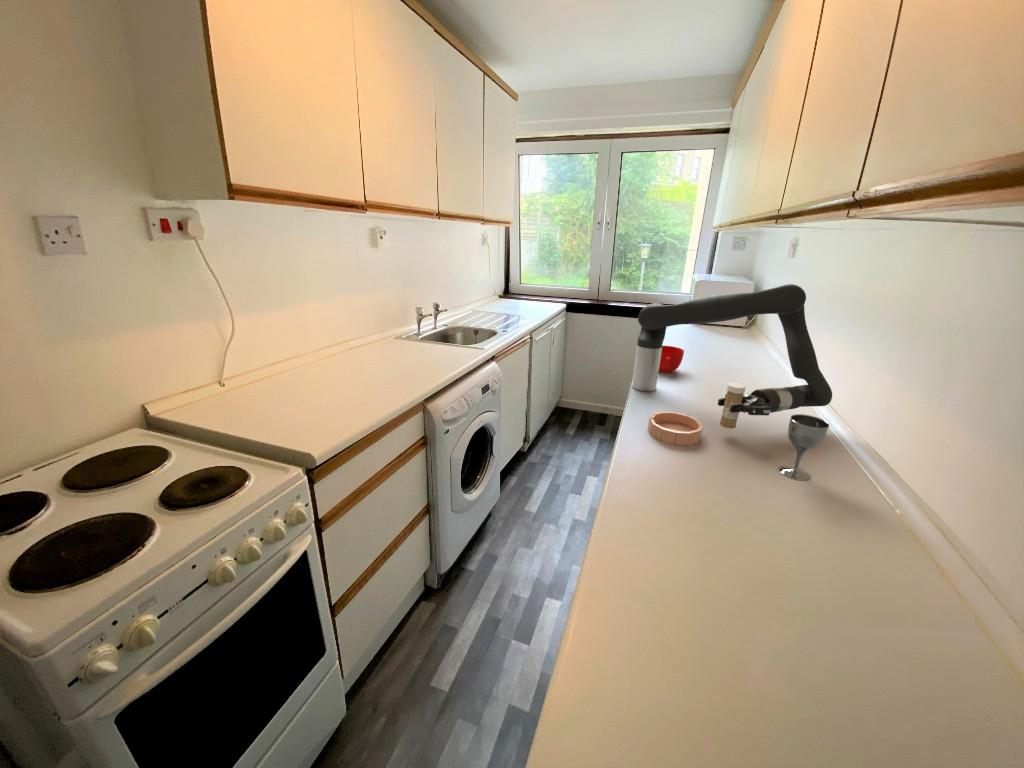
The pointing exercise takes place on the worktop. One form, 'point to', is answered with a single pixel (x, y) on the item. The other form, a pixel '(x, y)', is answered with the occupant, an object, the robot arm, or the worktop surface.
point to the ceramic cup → (670, 359)
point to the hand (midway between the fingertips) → (725, 405)
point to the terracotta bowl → (675, 428)
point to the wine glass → (804, 441)
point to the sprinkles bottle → (732, 398)
